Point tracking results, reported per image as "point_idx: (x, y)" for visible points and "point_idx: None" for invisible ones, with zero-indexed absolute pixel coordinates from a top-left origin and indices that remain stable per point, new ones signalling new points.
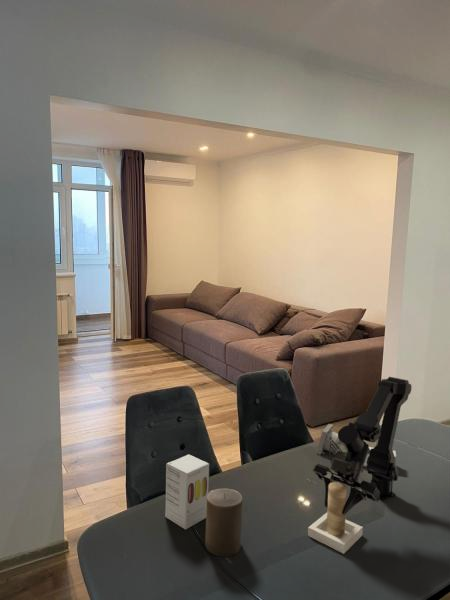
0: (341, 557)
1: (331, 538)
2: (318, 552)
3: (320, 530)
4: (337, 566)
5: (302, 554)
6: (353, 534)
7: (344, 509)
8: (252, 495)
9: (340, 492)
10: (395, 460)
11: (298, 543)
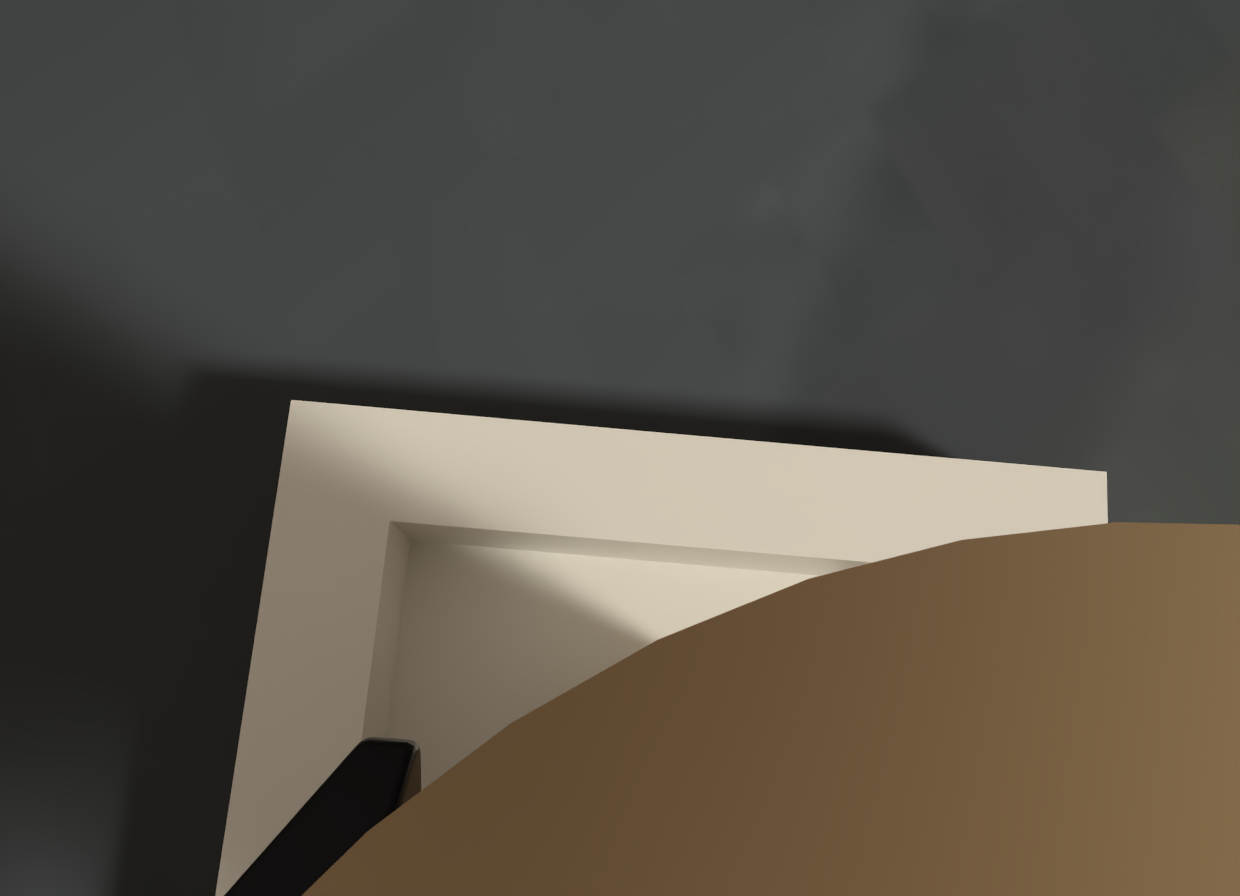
0: (332, 337)
1: (576, 433)
2: (680, 224)
3: (869, 534)
4: (309, 112)
5: (846, 42)
6: (242, 870)
7: (323, 833)
8: None
9: (393, 837)
10: None
11: (1033, 228)
